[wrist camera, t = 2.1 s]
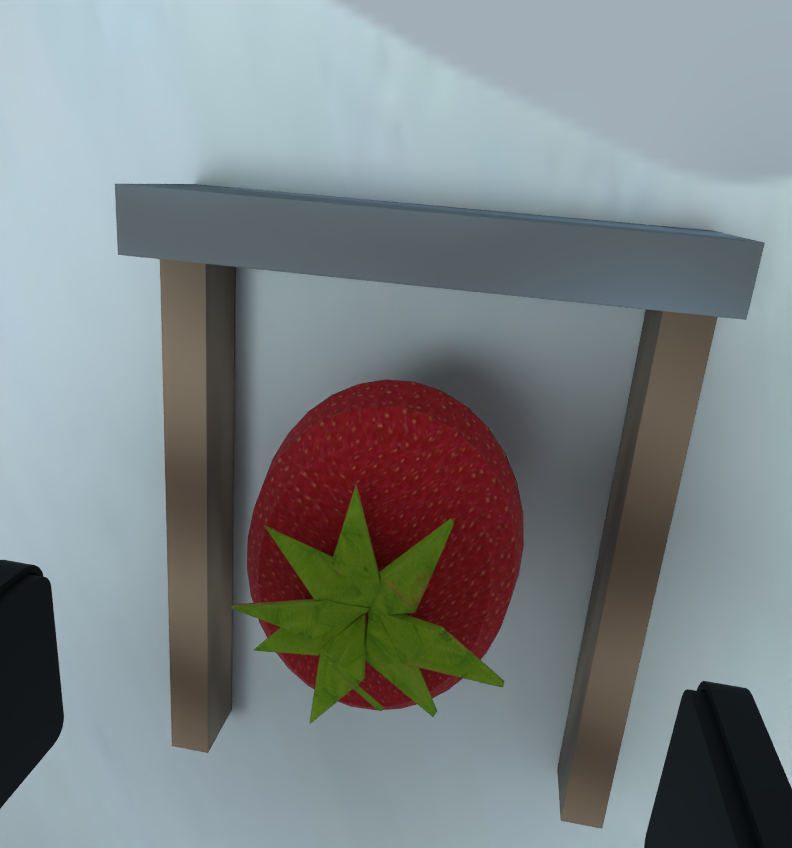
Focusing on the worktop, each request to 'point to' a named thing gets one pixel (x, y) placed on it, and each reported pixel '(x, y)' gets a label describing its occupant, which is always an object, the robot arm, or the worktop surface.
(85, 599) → the worktop surface
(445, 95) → the worktop surface
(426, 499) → the strawberry
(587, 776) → the frame
